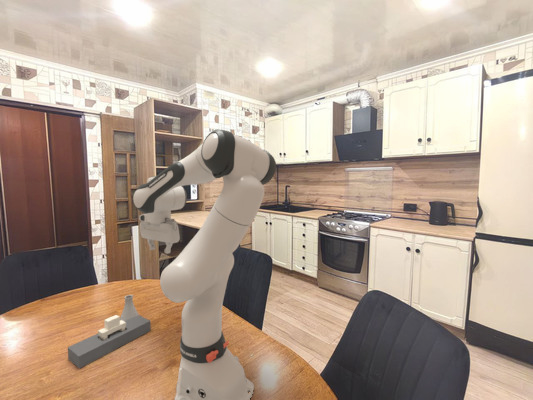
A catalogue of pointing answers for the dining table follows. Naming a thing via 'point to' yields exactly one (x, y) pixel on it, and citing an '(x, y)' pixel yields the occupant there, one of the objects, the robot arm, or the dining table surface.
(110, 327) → the clip
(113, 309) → the dining table surface
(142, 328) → the rail
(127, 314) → the flask
